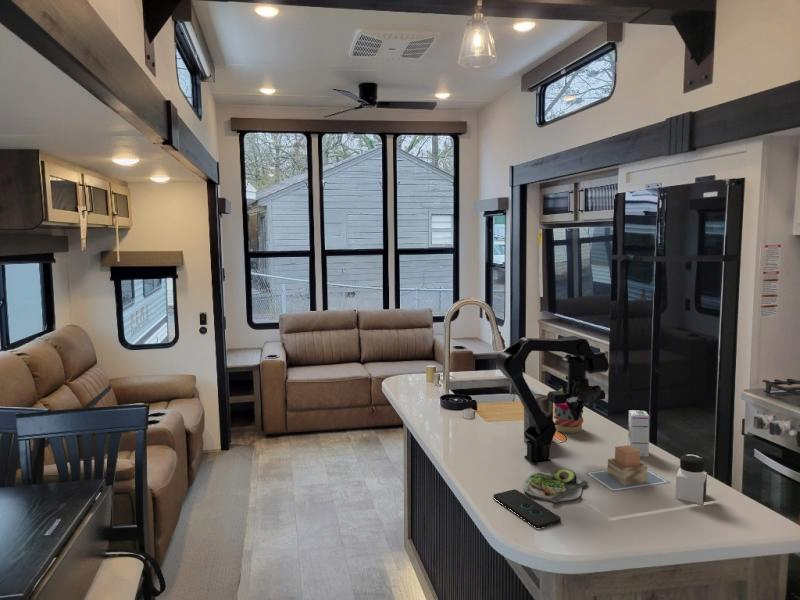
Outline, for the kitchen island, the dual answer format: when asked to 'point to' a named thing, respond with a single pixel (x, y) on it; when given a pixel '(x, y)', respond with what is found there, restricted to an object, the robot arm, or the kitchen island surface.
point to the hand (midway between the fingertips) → (575, 420)
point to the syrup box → (639, 431)
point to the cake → (566, 419)
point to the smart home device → (527, 508)
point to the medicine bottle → (691, 480)
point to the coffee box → (543, 405)
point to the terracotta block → (627, 456)
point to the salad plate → (555, 485)
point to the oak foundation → (627, 472)
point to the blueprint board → (617, 486)
